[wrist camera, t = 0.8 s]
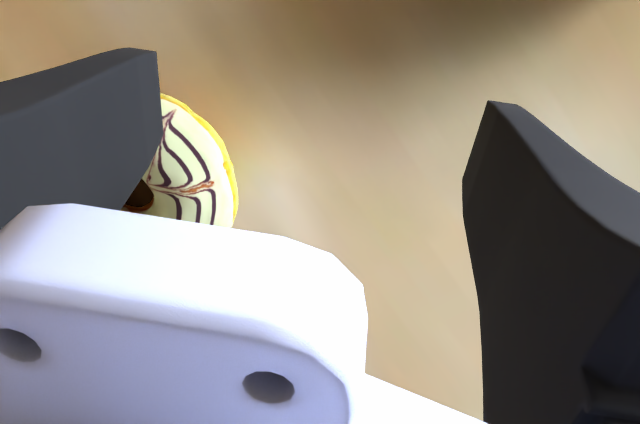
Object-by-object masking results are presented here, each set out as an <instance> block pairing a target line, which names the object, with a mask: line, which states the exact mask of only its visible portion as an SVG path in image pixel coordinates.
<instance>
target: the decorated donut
mask: <svg viewBox="0 0 640 424" xmlns="http://www.w3.org/2000/svg"><path fill="white" fill-rule="evenodd" d="M160 98H161V109H162V120H163V132H164V134H163V137H162V139H161V142H160V144H159V146H158V149H157V151H156V153H155V155H154V157H153V160H152V162H151V164H150V166H149V168H148V169H147V171H146V173H145V174H144V176H143V177H142V179H143V180H144V181H145V183H146V184H147V185H148V186H149V188H150V189H151V191H152V192H153V194H154V198H152V201H151V202H150V203H149V204H147V205H144V206H143V207H135V206H134V207H132V206H128V205H126V204H124V206H123V207H122V208H121V210H120V211H125V212H131V213H137V214H144V215H150V216H156V217H163V218H169V219H175V220H182V221H188V222H195V223H201V224H207V225H214V226H220V227H226V228H232V225H233V222H234V219H235V216H236V212H237V208H238V191H237V184H236V180H235V177H234V172H233V165H232V163H231V161H230V158H229V155H228V153H227V150H226V147H225V144H224V142H223V141H222V139H221V138H220V137H219V135H218V134H217V133H216V131H215V130H214V128H213V127H212V126H211V125H210V124H209V123H208V122H207V121H205V120H204V119H203V118H201V117H200V116H198V115H197V114H195V113H194V112H193V111H192V110H191V109H190V108H189V107H188V106H187V105H186V104H185V103H182V102H180V101H179V100H177V99H175V98H173V97H171V96H168V95H165V94H163V93H160Z"/></svg>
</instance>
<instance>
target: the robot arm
mask: <svg viewBox="0 0 640 424" xmlns="http://www.w3.org/2000/svg"><path fill="white" fill-rule="evenodd" d="M163 134H164V132H163V120H162V109H161V98H160V87H159V76H158V64H157V53H156V51H149V50H142V49H136V48H121V49H116V50H111V51H107V52H104V53H100V54H97V55H93V56H90V57H87V58H84V59H80V60H77V61H74V62H71V63H67V64H64V65H61V66H58V67H55V68H51V69H48V70H44V71H40V72H37V73H33V74H29V75H26V76H22V77H19V78H15V79H11V80H7V81H3V82H0V424H640V193H639V192H637V191H636V190H634V189H632V188H630V187H629V186H627V185H625V184H624V183H622V182H620V181H619V180H617V179H616V178H614V177H613V176H611V175H609V174H608V173H607V172H605V171H604V170H602V169H601V168H599V167H598V166H597V165H595V164H594V163H592V162H591V161H590V160H588V159H587V158H585V157H584V156H583V155H581V154H580V153H579V152H578V151H576V150H575V149H574V148H572V147H571V146H570V145H569V144H567V143H566V142H565V141H564V140H562V139H561V138H560V137H559V136H557V135H556V134H555V133H554V132H553V131H551V130H550V129H549V128H548V127H547V126H545V125H544V124H543V123H542V122H540V121H539V120H538V119H537V118H536V117H534V116H533V115H532V114H530V113H529V112H528V111H526V110H525V109H523V108H522V107H520V106H518V105H516V104H509V103H502V102H496V101H489V100H488V101H487V104H486V107H485V111H484V114H483V117H482V120H481V123H480V126H479V129H478V132H477V135H476V139H475V142H474V145H473V148H472V151H471V154H470V157H469V160H468V163H467V166H466V170H465V173H464V176H463V179H462V201H463V218H464V225H465V230H466V236H467V242H468V247H469V253H470V258H471V263H472V269H473V274H474V279H475V285H476V290H477V296H478V304H479V311H480V328H481V346H482V372H483V421H480V420H478V419H476V418H473V417H471V416H468V415H466V414H463V413H461V412H458V411H456V410H453V409H451V408H449V407H446V406H444V405H441V404H439V403H436V402H434V401H431V400H429V399H426V398H424V397H421V396H419V395H417V394H414V393H412V392H409V391H407V390H404V389H402V388H399V387H397V386H394V385H392V384H390V383H387V382H385V381H382V380H380V379H377V378H375V377H372V376H370V375H367V374H365V373H364V370H365V355H366V340H367V325H368V315H367V309H366V303H365V296H364V290H363V285H362V284H361V283H360V282H359V281H358V280H357V279H356V278H355V277H354V276H353V275H352V274H351V273H350V272H349V271H348V270H347V268H346V267H345V266H344V265H343V264H342V263H341V262H340V261H339V260H338V259H337V258H336V257H335V256H334V255H333V254H331V253H328V252H325V251H322V250H320V249H317V248H314V247H311V246H309V245H306V244H303V243H301V242H298V241H295V240H292V239H290V238H287V237H284V236H277V235H271V234H265V233H258V232H252V231H245V230H239V229H233V228H226V227H220V226H214V225H207V224H201V223H195V222H188V221H182V220H175V219H169V218H163V217H156V216H150V215H144V214H137V213H131V212H125V211H120V210H121V208H122V207H123V206H124V204H125V203H126V201H127V200H128V198H129V197H130V195H131V194H132V192H133V191H134V189H135V188H136V186H137V185H138V183H139V182H140V180H141V179H142V177H143V176H144V174H145V173H146V171H147V169H148V168H149V166H150V164H151V162H152V160H153V157H154V155H155V153H156V151H157V149H158V146H159V144H160V142H161V139H162V137H163Z"/></svg>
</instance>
